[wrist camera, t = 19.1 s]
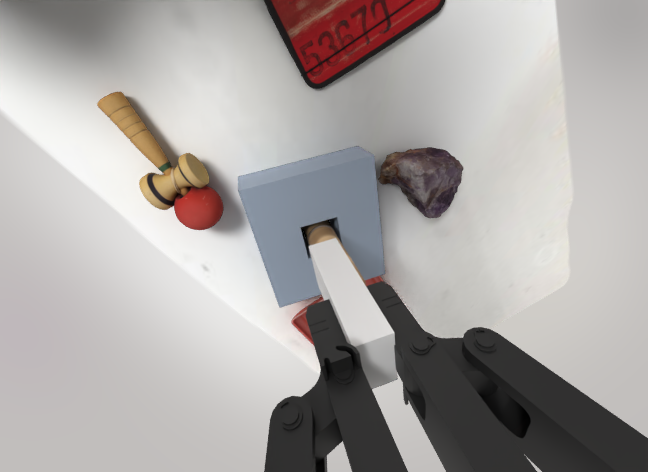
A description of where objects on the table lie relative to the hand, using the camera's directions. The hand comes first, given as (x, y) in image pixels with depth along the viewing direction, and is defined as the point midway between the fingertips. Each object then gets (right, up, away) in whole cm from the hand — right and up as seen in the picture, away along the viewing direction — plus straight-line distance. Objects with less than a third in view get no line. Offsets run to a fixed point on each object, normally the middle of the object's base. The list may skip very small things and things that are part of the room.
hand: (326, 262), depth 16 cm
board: (-2, +4, +32) cm, 32 cm away
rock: (+14, +12, +32) cm, 37 cm away
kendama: (-20, +11, +23) cm, 33 cm away
